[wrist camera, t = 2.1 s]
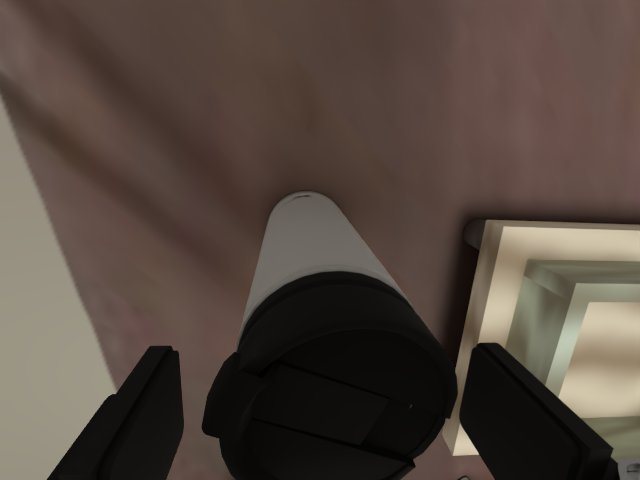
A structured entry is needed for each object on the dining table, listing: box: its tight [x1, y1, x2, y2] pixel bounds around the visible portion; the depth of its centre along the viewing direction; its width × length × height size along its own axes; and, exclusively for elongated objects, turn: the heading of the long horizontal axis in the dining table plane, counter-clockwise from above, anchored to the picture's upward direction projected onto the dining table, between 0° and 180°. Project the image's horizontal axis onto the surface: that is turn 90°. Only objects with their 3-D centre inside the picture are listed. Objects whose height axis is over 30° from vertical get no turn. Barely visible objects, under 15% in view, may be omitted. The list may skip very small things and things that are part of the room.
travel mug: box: [202, 191, 458, 480], centre depth 17 cm, size 6×7×20 cm
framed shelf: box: [442, 219, 640, 463], centre depth 26 cm, size 20×20×10 cm
